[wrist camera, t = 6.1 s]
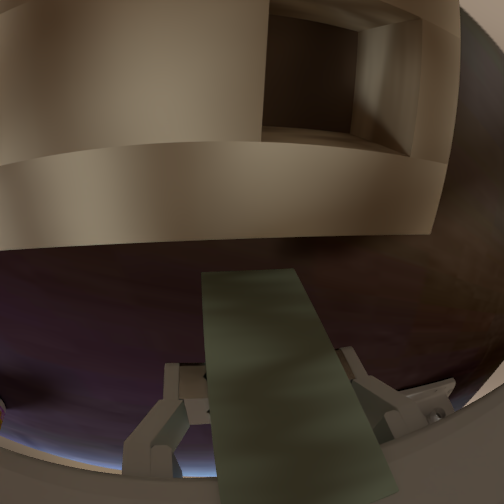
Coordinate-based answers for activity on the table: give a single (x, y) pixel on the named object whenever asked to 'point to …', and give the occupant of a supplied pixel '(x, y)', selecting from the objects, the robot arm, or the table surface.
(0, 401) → the supplement bottle
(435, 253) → the table surface
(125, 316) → the table surface
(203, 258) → the table surface
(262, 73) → the socket block
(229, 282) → the peg
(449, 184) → the table surface
